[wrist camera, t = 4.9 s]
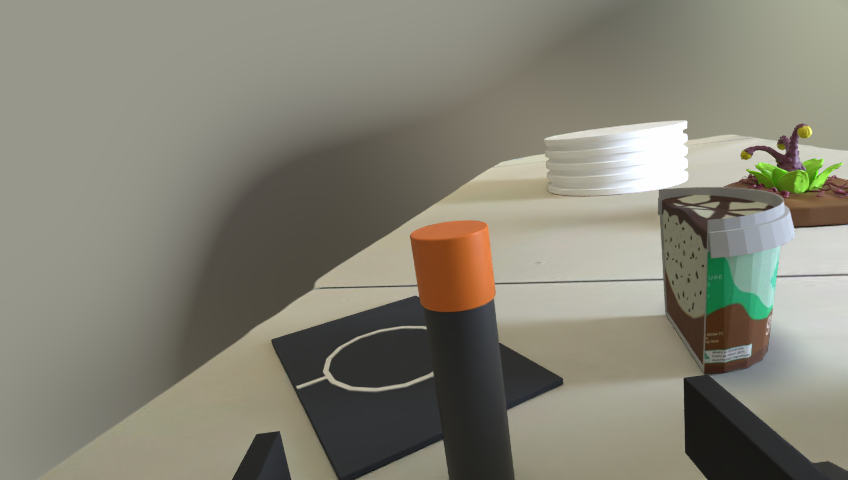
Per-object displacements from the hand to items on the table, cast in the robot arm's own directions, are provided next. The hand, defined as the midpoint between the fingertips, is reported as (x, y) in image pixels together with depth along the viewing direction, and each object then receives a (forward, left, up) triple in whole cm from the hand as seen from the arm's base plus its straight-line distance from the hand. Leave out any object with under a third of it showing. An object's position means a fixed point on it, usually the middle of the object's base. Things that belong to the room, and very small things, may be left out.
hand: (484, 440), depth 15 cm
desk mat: (+4, +21, -7) cm, 23 cm away
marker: (+2, +5, -7) cm, 9 cm away
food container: (+24, +7, -7) cm, 26 cm away
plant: (+63, +23, -7) cm, 68 cm away
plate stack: (+75, +63, -7) cm, 98 cm away
